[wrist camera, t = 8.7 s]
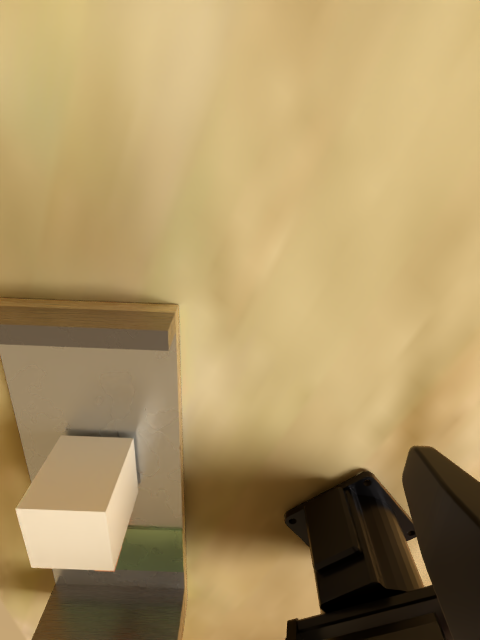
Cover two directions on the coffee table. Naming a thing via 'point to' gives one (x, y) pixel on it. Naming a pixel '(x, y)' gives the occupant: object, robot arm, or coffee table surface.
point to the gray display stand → (107, 421)
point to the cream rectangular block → (80, 504)
